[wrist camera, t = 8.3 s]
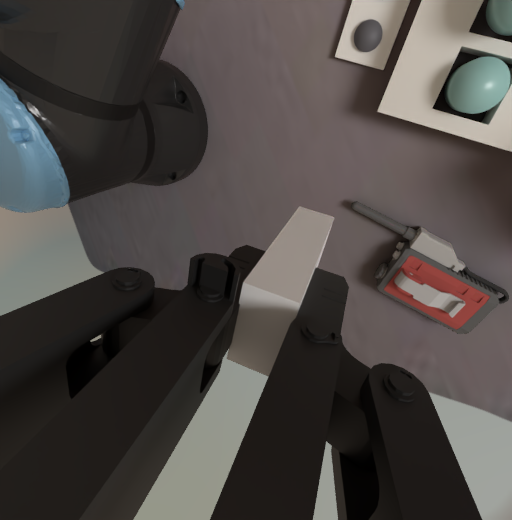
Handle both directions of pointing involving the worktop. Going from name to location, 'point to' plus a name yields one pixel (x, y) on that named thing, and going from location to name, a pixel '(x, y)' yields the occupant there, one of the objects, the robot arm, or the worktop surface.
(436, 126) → the board
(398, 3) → the pattern card
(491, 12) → the button
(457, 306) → the walkie-talkie
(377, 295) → the worktop surface
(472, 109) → the button
